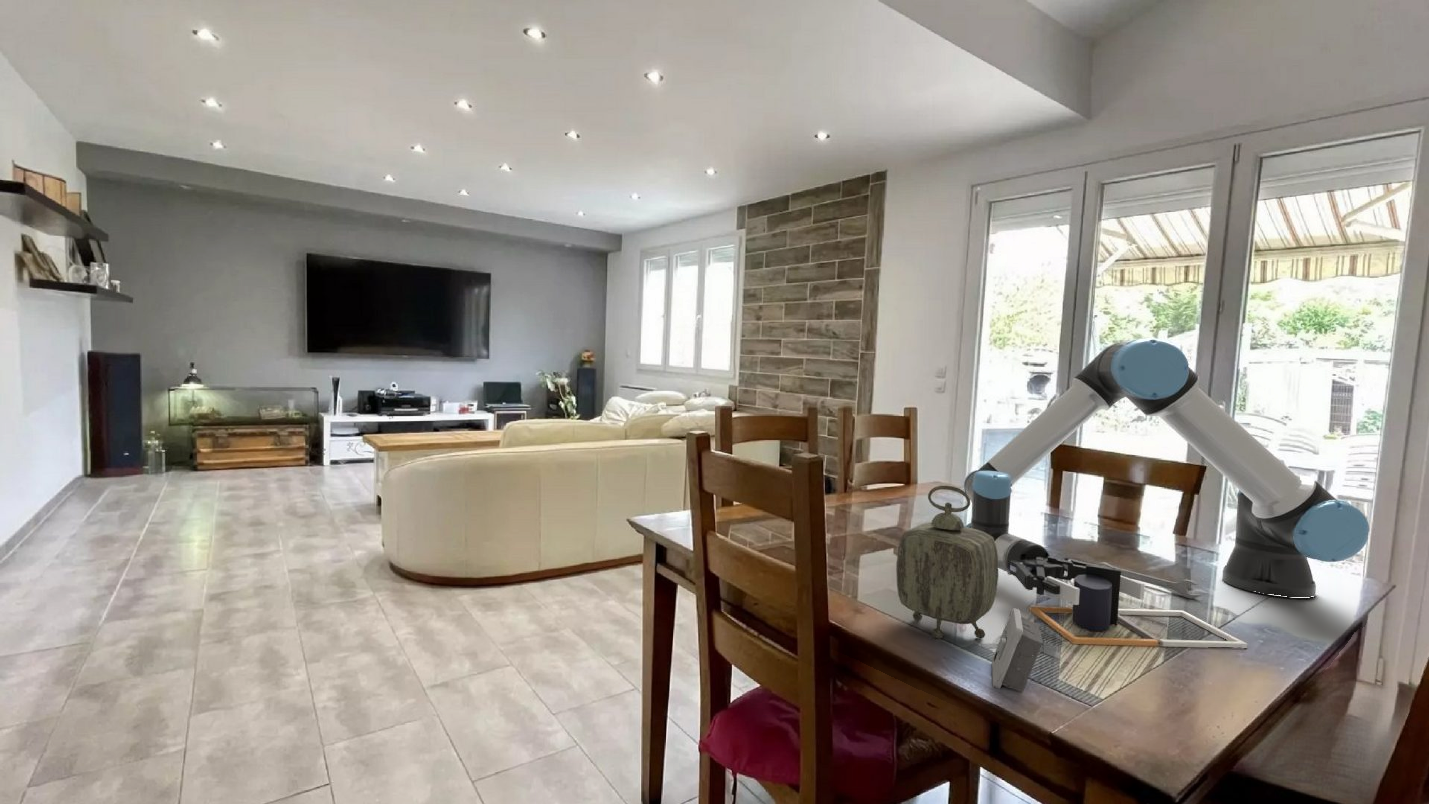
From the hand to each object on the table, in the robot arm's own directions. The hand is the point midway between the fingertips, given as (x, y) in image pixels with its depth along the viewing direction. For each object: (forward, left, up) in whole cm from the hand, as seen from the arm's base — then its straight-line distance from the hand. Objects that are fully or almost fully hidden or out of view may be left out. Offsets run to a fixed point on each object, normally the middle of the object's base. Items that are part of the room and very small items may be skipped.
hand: (1110, 594), depth 110 cm
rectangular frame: (-6, -3, -7) cm, 10 cm away
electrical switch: (+24, +17, -7) cm, 30 cm away
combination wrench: (-24, -27, -7) cm, 37 cm away
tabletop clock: (+29, +2, -7) cm, 30 cm away
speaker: (0, -3, -7) cm, 8 cm away
